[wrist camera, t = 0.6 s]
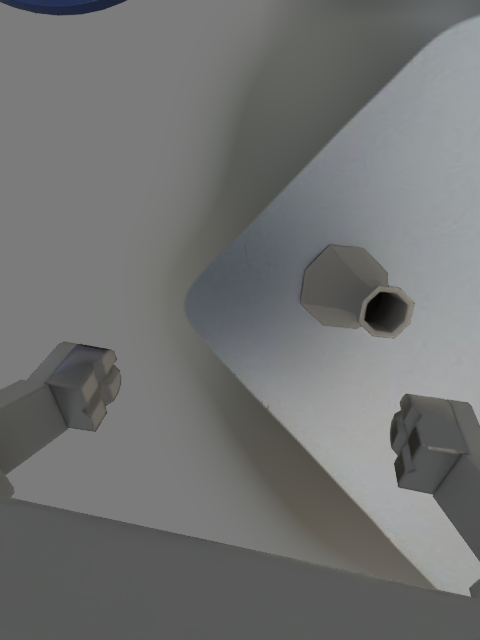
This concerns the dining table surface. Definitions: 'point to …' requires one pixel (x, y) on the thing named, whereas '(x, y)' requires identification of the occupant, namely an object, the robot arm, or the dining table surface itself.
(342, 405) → the dining table surface
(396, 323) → the flask
